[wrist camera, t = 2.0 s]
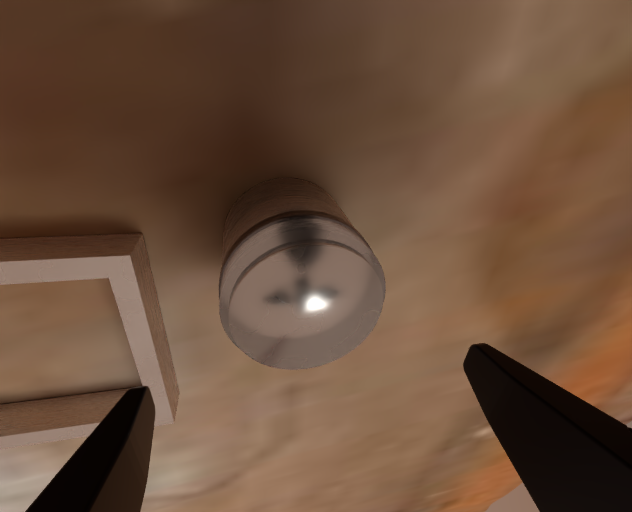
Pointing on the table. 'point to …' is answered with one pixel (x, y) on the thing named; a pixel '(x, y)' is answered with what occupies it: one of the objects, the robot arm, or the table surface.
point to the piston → (296, 277)
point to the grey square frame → (137, 316)
